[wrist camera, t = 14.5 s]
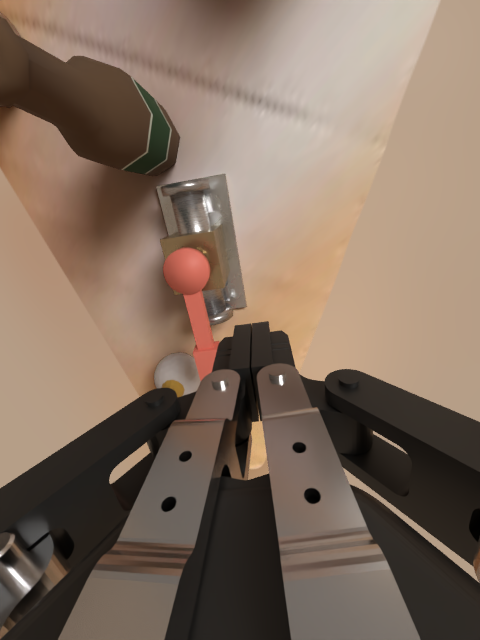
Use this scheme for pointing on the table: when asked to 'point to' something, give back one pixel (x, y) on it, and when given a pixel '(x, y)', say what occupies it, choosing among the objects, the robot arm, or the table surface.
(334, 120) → the table surface
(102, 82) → the beer bottle
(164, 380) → the perfume bottle
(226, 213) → the valve
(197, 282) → the lever
